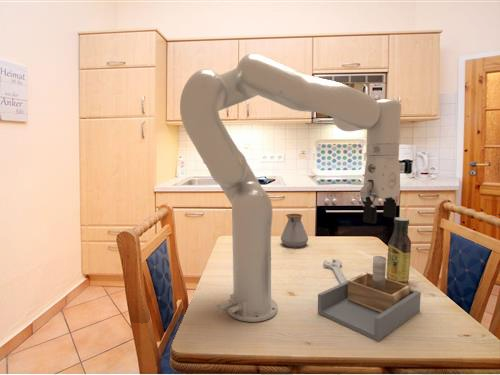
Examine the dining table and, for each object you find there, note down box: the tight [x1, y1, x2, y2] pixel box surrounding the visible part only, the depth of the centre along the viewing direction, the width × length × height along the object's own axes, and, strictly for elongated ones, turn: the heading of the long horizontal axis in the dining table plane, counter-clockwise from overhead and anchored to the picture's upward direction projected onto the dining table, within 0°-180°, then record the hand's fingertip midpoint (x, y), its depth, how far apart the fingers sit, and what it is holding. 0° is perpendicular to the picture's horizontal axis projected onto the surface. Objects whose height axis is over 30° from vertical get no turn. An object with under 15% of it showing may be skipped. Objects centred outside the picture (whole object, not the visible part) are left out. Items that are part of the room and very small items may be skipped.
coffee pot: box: [280, 213, 309, 249], centre depth 135 cm, size 21×12×15 cm, turn 168°
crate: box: [347, 255, 411, 313], centre depth 85 cm, size 9×12×12 cm
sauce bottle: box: [385, 216, 412, 285], centre depth 100 cm, size 7×6×20 cm
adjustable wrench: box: [323, 258, 349, 285], centre depth 107 cm, size 25×6×2 cm, turn 174°
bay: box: [317, 273, 422, 342], centre depth 83 cm, size 20×16×5 cm
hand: (379, 219), depth 84 cm, fingers open, 9 cm apart
